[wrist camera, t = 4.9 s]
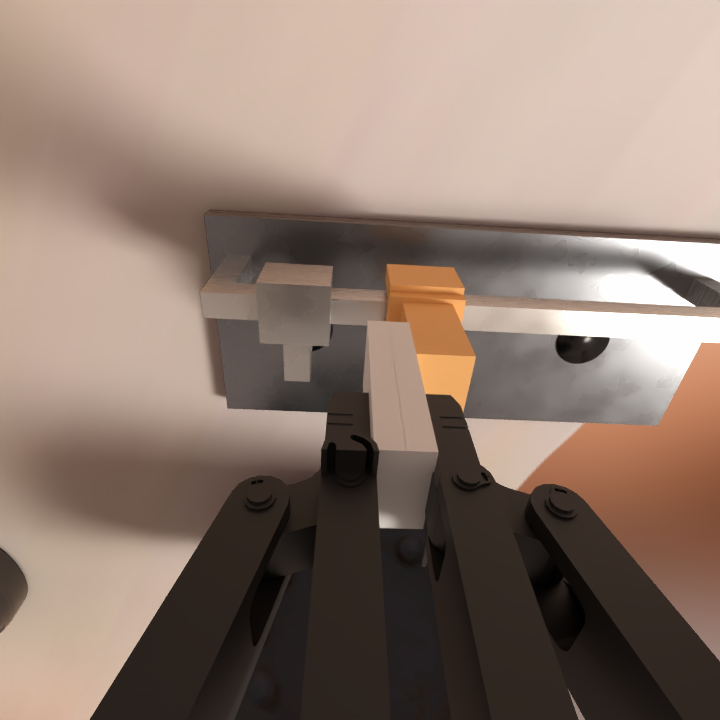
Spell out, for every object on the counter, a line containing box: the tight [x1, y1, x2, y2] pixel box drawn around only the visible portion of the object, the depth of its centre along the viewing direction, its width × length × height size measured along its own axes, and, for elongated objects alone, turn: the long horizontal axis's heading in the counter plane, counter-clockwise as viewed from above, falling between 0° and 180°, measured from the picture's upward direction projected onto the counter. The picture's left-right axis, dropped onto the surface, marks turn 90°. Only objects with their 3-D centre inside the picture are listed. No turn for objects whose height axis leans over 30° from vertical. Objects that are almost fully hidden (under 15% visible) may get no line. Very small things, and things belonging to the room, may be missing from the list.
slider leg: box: [385, 264, 476, 412], centre depth 20 cm, size 3×6×10 cm, turn 177°
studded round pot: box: [234, 517, 451, 720], centre depth 27 cm, size 11×20×20 cm, turn 84°
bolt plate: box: [204, 210, 720, 426], centre depth 26 cm, size 28×12×1 cm, turn 87°
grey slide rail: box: [200, 254, 720, 382], centre depth 23 cm, size 26×5×7 cm, turn 87°
